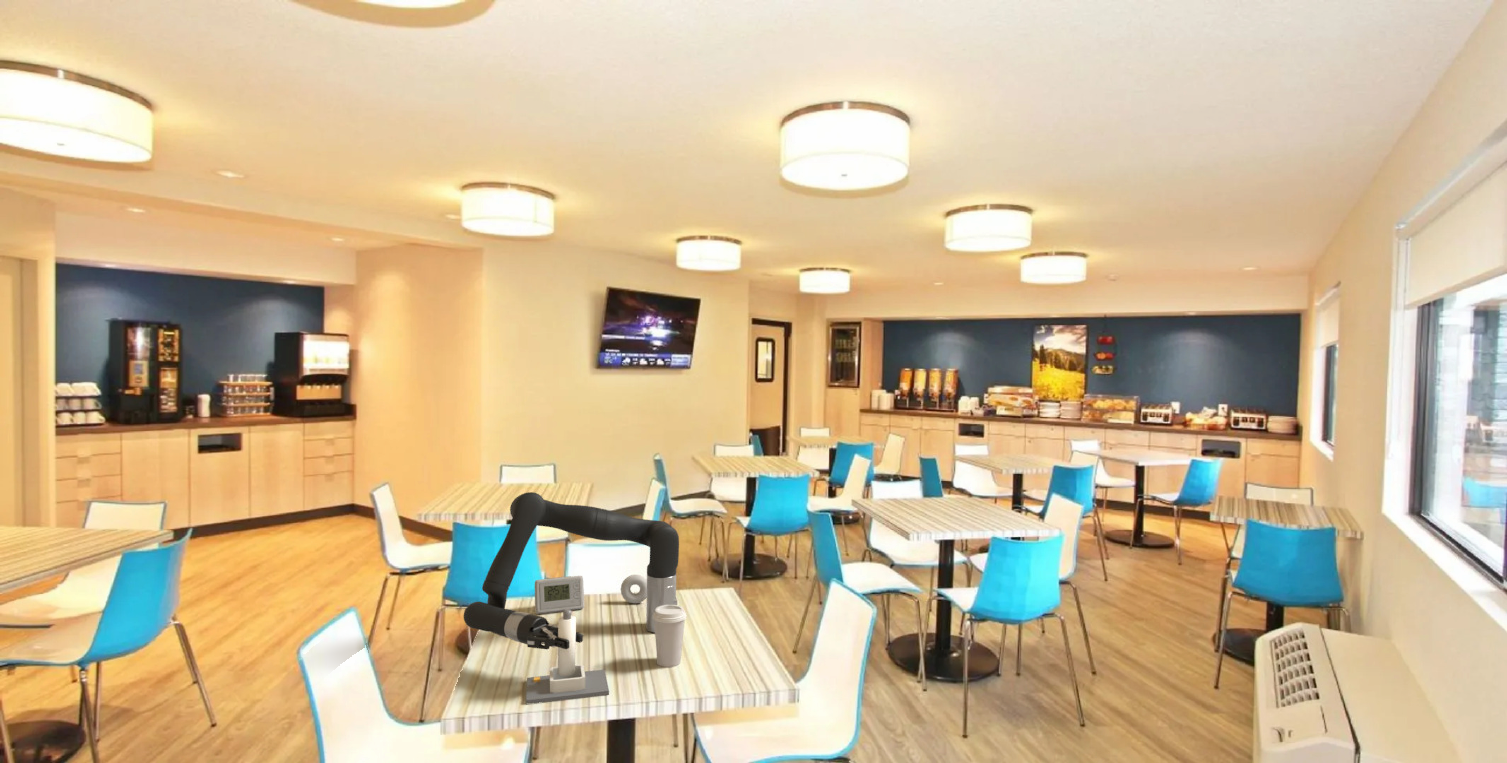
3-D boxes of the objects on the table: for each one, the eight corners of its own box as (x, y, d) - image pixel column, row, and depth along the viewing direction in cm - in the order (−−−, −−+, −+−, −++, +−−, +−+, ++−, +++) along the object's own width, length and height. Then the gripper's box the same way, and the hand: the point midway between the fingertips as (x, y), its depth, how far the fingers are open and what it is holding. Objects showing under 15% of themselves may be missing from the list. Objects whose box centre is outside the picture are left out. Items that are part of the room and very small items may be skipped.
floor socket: (604, 672, 195) (604, 658, 195) (608, 694, 183) (609, 679, 183) (526, 681, 190) (526, 666, 189) (526, 704, 177) (526, 688, 177)
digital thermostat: (533, 615, 238) (533, 583, 237) (536, 606, 246) (536, 575, 246) (583, 613, 241) (584, 581, 240) (584, 604, 249) (585, 573, 249)
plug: (574, 667, 189) (575, 607, 188) (575, 674, 185) (576, 612, 184) (557, 669, 188) (558, 608, 187) (557, 676, 183) (558, 614, 183)
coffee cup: (691, 658, 206) (692, 606, 205) (677, 671, 197) (677, 617, 196) (661, 653, 209) (661, 601, 208) (645, 666, 200) (646, 612, 199)
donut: (649, 601, 253) (650, 573, 253) (649, 604, 249) (649, 576, 249) (621, 601, 252) (621, 573, 252) (619, 605, 249) (620, 576, 248)
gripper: (505, 622, 186) (555, 636, 178) (546, 606, 199) (594, 618, 191) (505, 651, 186) (555, 666, 178) (545, 633, 199) (593, 646, 191)
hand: (575, 641), depth 184 cm, fingers closed on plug, 4 cm apart
